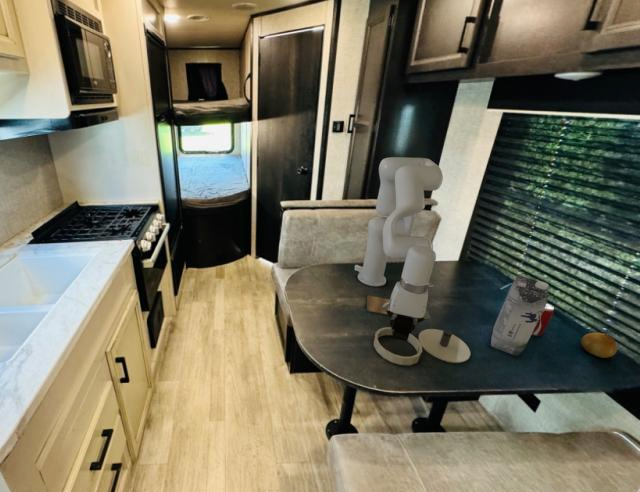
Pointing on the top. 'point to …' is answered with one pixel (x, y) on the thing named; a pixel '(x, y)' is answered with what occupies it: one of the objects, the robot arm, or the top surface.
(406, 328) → the block
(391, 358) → the cream hollow ring
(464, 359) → the lid
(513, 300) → the juice carton
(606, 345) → the fruit
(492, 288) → the top surface
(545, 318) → the soda can
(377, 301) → the trivet
